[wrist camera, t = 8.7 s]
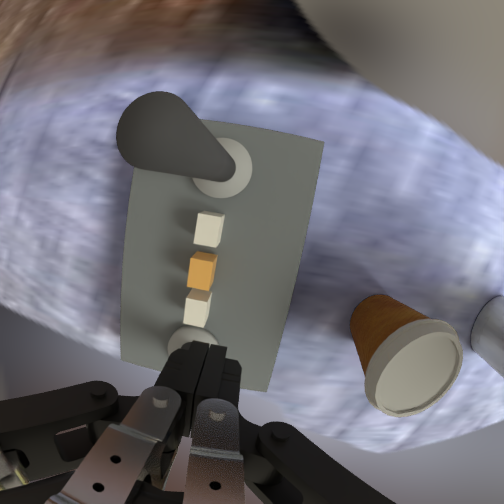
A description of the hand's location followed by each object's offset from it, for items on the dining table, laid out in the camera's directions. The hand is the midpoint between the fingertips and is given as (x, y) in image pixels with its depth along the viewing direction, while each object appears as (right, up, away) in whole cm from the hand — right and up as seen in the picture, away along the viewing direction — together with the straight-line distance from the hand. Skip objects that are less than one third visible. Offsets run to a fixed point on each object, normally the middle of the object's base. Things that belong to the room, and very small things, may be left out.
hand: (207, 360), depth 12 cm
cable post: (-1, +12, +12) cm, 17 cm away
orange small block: (-2, +3, +14) cm, 14 cm away
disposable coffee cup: (+16, -3, +19) cm, 25 cm away
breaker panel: (-2, +4, +18) cm, 18 cm away
